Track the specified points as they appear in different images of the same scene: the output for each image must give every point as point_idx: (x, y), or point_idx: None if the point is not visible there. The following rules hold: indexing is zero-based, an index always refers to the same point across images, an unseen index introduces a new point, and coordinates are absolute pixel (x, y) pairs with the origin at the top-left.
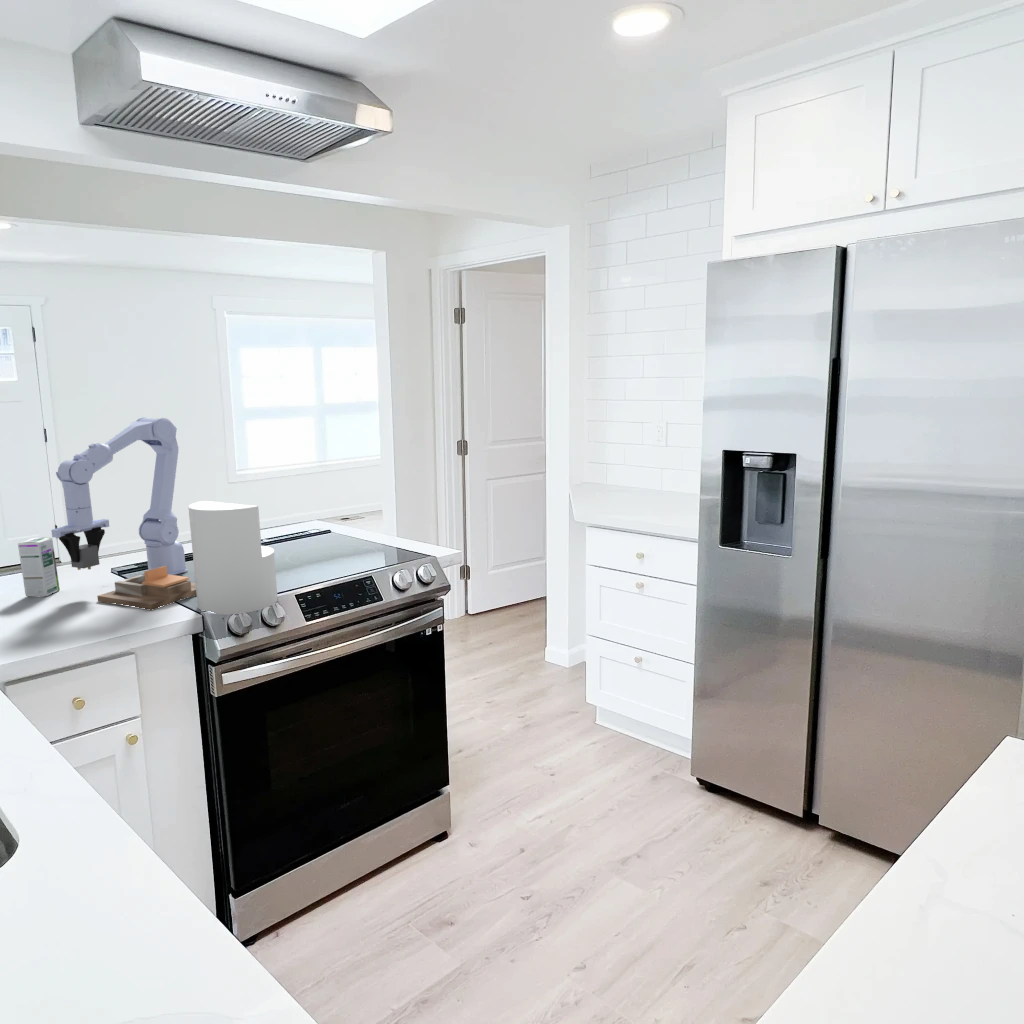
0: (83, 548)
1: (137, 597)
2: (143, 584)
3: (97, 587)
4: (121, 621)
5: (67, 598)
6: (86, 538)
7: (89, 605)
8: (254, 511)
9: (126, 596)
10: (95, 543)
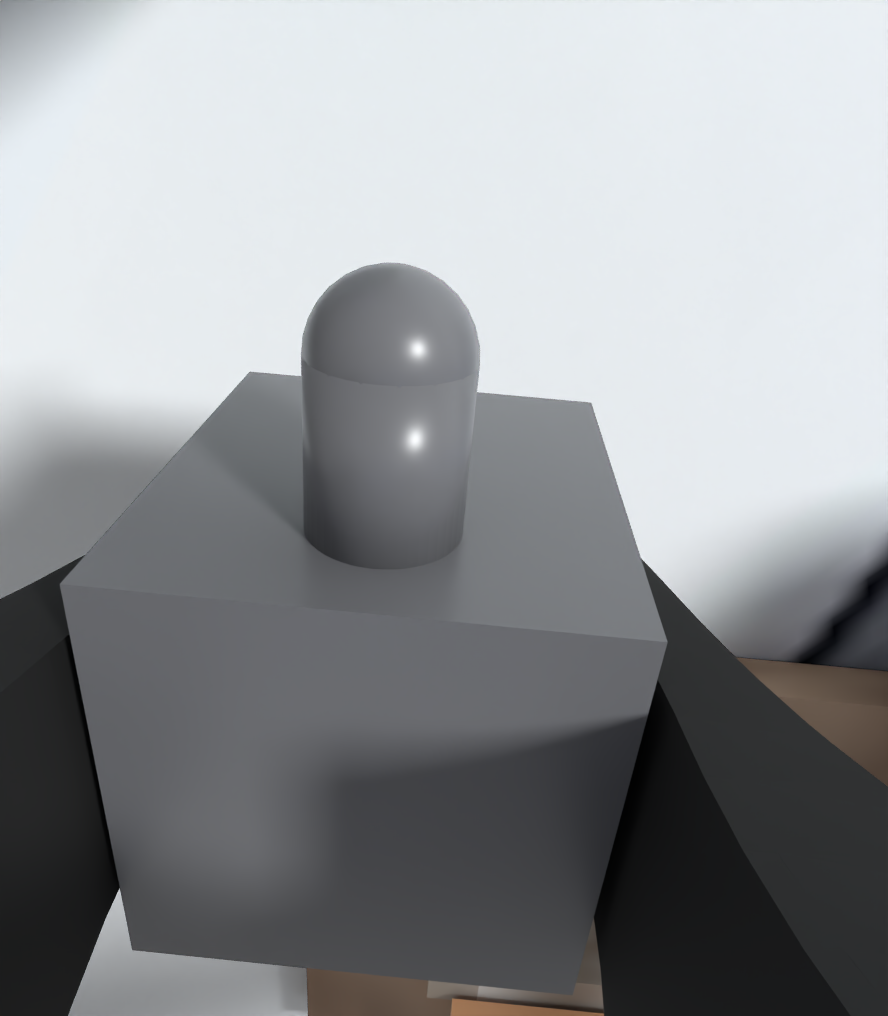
0: (215, 937)
1: None
2: (451, 1009)
3: (729, 188)
4: (104, 985)
5: (252, 249)
6: (735, 855)
7: None
8: None
9: None
10: (611, 992)
